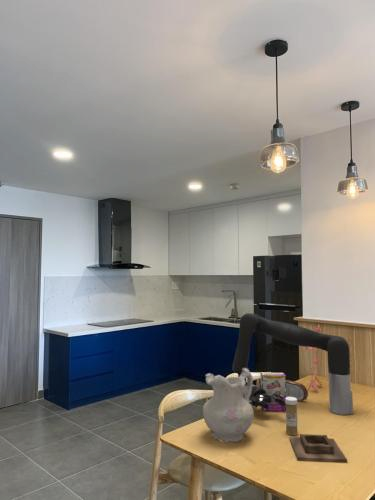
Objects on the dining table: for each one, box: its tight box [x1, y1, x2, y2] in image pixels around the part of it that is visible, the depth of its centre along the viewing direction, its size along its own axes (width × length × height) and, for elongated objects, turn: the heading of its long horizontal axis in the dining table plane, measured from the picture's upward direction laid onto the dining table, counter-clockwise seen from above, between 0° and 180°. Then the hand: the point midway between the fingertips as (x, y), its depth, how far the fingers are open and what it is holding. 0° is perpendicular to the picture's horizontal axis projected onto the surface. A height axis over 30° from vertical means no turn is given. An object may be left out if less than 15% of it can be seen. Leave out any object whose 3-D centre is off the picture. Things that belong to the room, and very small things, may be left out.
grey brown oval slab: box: [286, 379, 309, 402], centre depth 188 cm, size 15×3×8 cm, turn 40°
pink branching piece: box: [305, 324, 323, 393], centre depth 203 cm, size 15×26×35 cm, turn 149°
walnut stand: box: [289, 433, 348, 463], centre depth 132 cm, size 16×16×4 cm
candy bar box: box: [260, 371, 287, 412], centre depth 173 cm, size 11×5×16 cm, turn 87°
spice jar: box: [285, 397, 299, 436], centre depth 147 cm, size 5×5×13 cm
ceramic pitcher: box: [202, 367, 255, 443], centre depth 146 cm, size 22×20×25 cm
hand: (276, 405), depth 155 cm, fingers open, 8 cm apart
